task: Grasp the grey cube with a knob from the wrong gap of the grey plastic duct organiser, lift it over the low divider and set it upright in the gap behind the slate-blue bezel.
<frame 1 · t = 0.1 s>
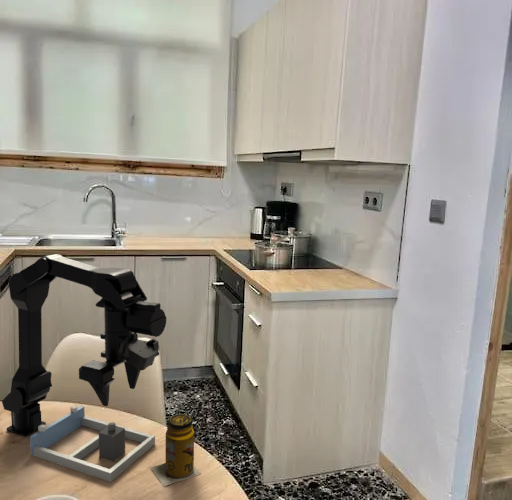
hand: (119, 396, 111), 14 cm above the table, fingers open, 9 cm apart
condiment: (175, 472, 109), on the table
grey cube with knob: (112, 454, 114), resting in organiser
organiser: (94, 449, 116), on the table
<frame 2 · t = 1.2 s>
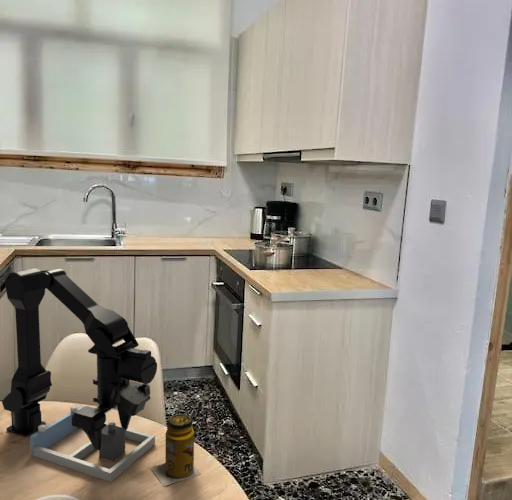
hand: (111, 439, 113), 4 cm above the table, fingers open, 9 cm apart
nothing on the table moved.
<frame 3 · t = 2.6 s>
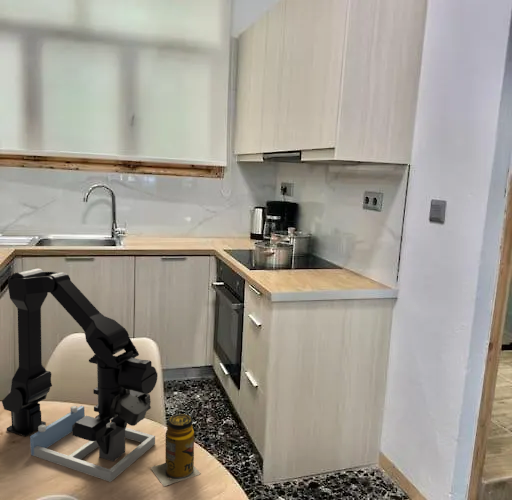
hand: (112, 448, 114), 2 cm above the table, fingers closed on grey cube with knob, 4 cm apart
grey cube with knob: (112, 454, 114), resting in organiser, touching gripper
everything else where it was.
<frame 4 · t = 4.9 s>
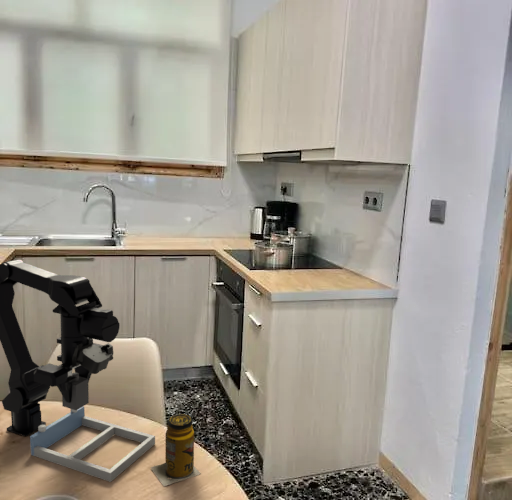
hand: (75, 398, 116), 11 cm above the table, fingers closed on grey cube with knob, 4 cm apart
grey cube with knob: (75, 404, 116), point 10 cm above the table, touching gripper
everything else where it was.
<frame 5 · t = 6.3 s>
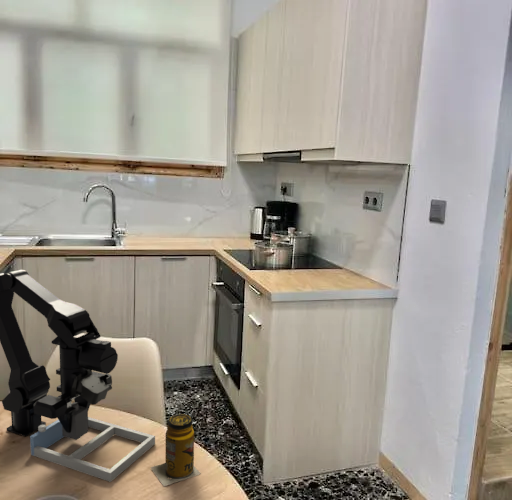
hand: (75, 427, 117), 4 cm above the table, fingers closed on grey cube with knob, 4 cm apart
grey cube with knob: (75, 433, 118), point 2 cm above the table, touching gripper
everything else where it was.
when the fingers open (3 cm above the table, at t = 7.2 s): grey cube with knob drops 2 cm, resting in organiser.
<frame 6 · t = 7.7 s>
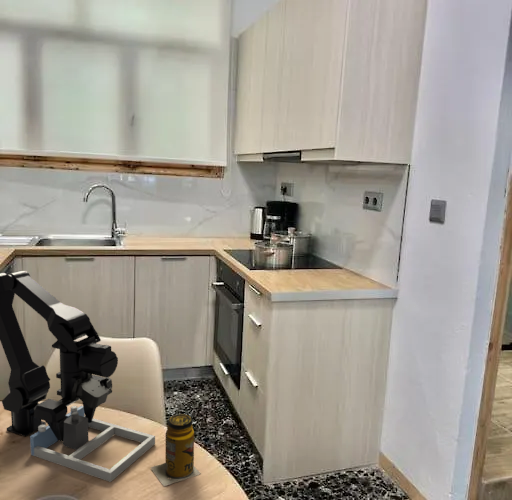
hand: (75, 431, 117), 3 cm above the table, fingers open, 9 cm apart
grey cube with knob: (75, 443, 118), resting in organiser
everything else where it was.
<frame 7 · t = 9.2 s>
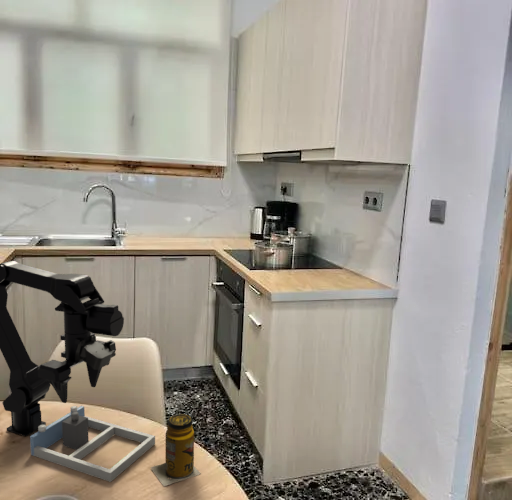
hand: (79, 394, 118), 11 cm above the table, fingers open, 9 cm apart
nothing on the table moved.
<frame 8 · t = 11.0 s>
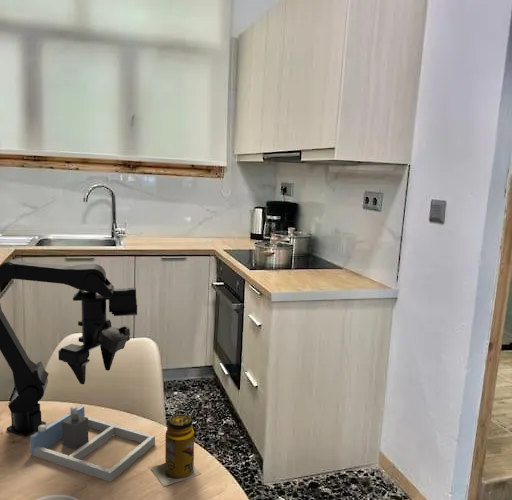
hand: (95, 376, 126), 12 cm above the table, fingers open, 9 cm apart
nothing on the table moved.
at the end: grey cube with knob inside the target area on the organiser (0.2 cm from its centre), point 0.0 cm above the organiser's base; grey cube with knob tilted 0°; the gripper is holding nothing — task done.
